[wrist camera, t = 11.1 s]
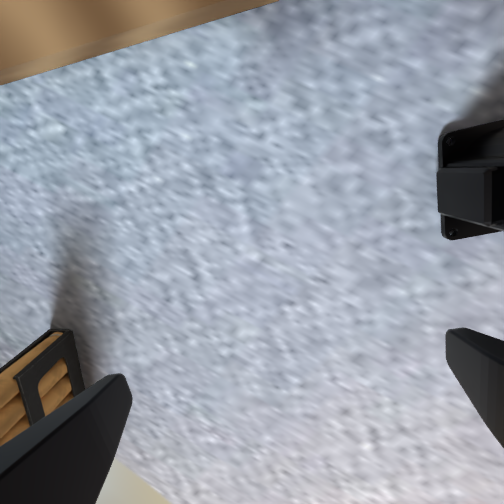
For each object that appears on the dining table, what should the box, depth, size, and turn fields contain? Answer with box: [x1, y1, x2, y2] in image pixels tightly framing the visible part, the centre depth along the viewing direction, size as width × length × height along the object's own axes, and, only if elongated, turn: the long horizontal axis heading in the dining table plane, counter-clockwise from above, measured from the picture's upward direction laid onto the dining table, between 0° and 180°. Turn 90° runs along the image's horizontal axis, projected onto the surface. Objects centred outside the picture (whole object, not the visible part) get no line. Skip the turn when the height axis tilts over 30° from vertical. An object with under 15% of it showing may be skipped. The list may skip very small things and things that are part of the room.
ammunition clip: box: [0, 329, 85, 446], centre depth 18 cm, size 11×2×12 cm, turn 0°
